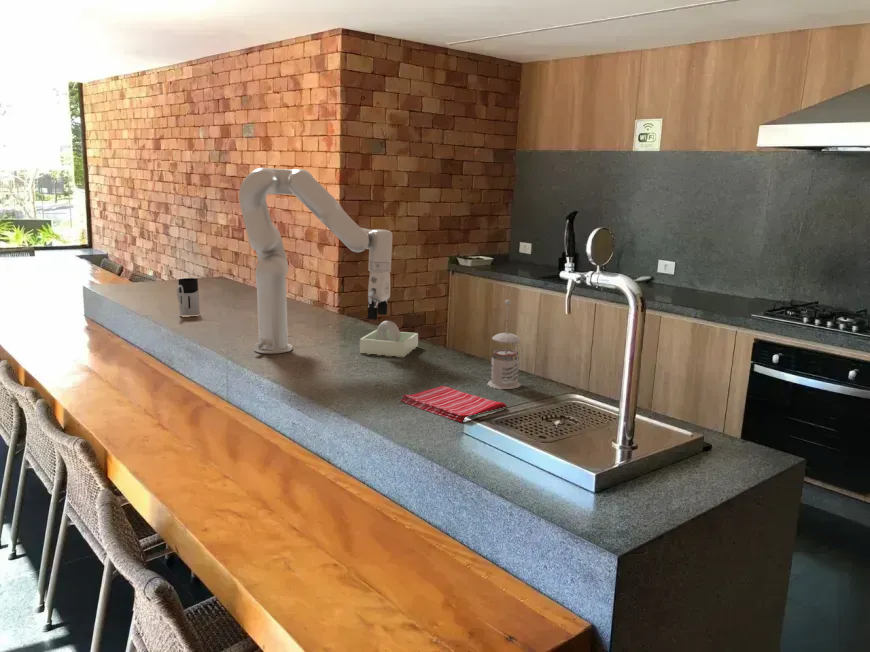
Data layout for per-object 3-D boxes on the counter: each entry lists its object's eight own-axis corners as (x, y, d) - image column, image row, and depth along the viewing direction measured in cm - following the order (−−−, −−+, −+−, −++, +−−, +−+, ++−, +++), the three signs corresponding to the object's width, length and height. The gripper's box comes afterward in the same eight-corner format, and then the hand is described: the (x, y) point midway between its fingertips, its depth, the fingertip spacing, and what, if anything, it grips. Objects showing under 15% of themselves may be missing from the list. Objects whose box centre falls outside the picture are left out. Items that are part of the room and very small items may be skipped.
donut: (374, 347, 243) (374, 319, 241) (381, 346, 246) (381, 317, 244) (395, 352, 237) (395, 323, 235) (402, 351, 239) (402, 322, 237)
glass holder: (204, 313, 298) (202, 278, 295) (189, 320, 285) (187, 283, 281) (184, 312, 299) (182, 277, 296) (168, 319, 285) (166, 282, 282)
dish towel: (464, 426, 171) (464, 416, 171) (398, 403, 188) (399, 393, 187) (509, 411, 183) (509, 401, 183) (444, 390, 199) (444, 381, 199)
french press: (480, 384, 205) (483, 298, 200) (506, 377, 213) (509, 294, 208) (506, 391, 198) (510, 303, 193) (532, 384, 206) (536, 299, 201)
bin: (404, 357, 233) (404, 342, 232) (359, 353, 237) (359, 339, 236) (417, 347, 248) (418, 333, 247) (375, 343, 252) (375, 329, 251)
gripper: (381, 270, 228) (379, 322, 232) (398, 265, 245) (395, 313, 248) (359, 268, 230) (357, 319, 234) (378, 263, 247) (375, 311, 250)
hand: (377, 316), depth 241 cm, fingers open, 9 cm apart
